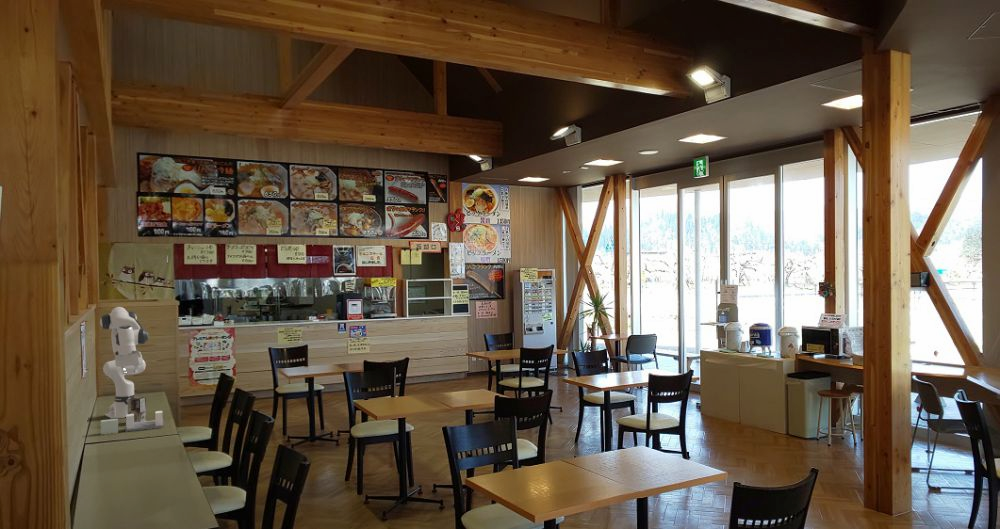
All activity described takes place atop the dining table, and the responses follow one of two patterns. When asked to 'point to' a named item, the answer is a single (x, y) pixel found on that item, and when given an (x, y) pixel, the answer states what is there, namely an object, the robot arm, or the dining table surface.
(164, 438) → the dining table surface
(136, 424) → the module rack
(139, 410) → the coffee box
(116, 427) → the block
